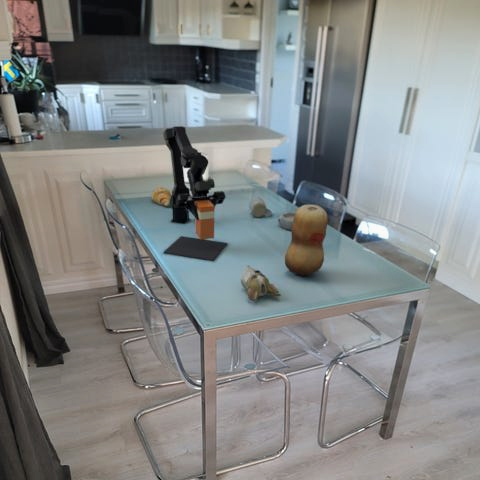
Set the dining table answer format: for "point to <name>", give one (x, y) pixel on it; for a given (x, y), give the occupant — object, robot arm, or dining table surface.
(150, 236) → the dining table surface
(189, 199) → the robot arm
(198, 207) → the packet
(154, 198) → the croissant
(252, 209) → the ceramic mug
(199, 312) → the dining table surface
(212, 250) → the mat
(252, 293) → the ceramic sculpture
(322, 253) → the butternut squash
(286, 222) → the dish
